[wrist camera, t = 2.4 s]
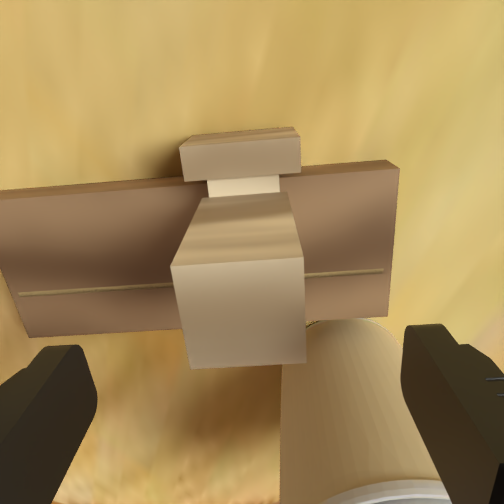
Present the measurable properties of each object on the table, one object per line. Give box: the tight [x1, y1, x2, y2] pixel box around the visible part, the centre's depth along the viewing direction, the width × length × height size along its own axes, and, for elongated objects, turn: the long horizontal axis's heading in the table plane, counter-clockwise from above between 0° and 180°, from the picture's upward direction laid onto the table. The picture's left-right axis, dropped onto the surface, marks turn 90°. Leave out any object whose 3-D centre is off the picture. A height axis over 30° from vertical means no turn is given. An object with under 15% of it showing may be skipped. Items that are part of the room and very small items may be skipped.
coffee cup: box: [280, 318, 452, 504], centre depth 19 cm, size 9×9×12 cm
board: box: [0, 160, 400, 338], centre depth 20 cm, size 8×20×2 cm, turn 95°
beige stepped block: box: [170, 127, 307, 369], centre depth 15 cm, size 9×5×10 cm, turn 5°
